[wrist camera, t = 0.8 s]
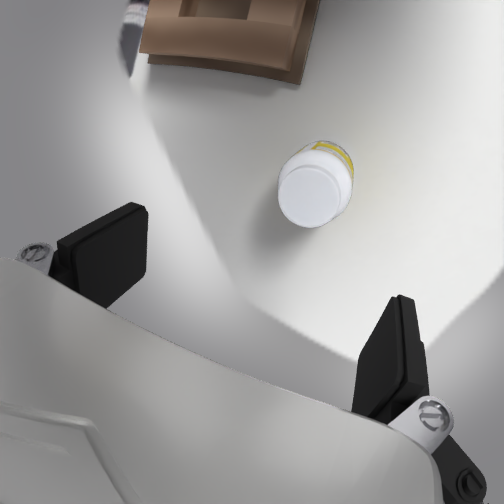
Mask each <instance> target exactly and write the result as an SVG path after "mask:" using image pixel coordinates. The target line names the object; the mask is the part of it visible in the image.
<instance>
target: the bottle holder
mask: <svg viewBox="0 0 504 504" xmlns="http://www.w3.org/2000/svg"><path fill="white" fill-rule="evenodd" d="M319 2H320V0H150V2H149V7H148V11H147V15H146V20H145V24H144V29H143V34H142V39H141V44H140V49H139V53H147V54H149V58H148V63H149V64H164V65H178V66H189V67H198V68H207V69H215V70H223V71H230V72H236V73H242V74H248V75H254V76H260V77H265V78H270V79H275V80H280V81H284V82H289V83H293V84H298V85H300V84H301V80H302V76H303V72H304V67H305V63H306V59H307V54H308V50H309V46H310V41H311V37H312V33H313V28H314V24H315V20H316V15H317V11H318V6H319Z"/></svg>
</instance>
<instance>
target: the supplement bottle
mask: <svg viewBox="0 0 504 504" xmlns="http://www.w3.org/2000/svg"><path fill="white" fill-rule="evenodd" d="M353 174H354V173H353V164H352V161H351V159H350V157H349V155H348V154H347V152H346V151H345V150H344V149H343V148H342V147H340V146H339V145H337V144H335V143H332V142H329V141H317V142H313V143H311V144H309V145H307V146H305V147H304V148H303V149H301V150H300V151H299V152H297V153H296V154H295V155H293V156H292V157H291V158H290V159H289V160H288V161H287V162H286V163H285V164H284V166H283V168H282V169H281V172H280V174H279V178H278V202H279V206H280V208H281V210H282V212H283V214H284V215H285V216H286V217H287V218H288V219H289V220H290V221H291V222H293V223H294V224H296V225H298V226H301V227H306V228H315V227H320V226H322V225H325V224H326V223H328V222H329V221H330V220H332V219H334V218H336V217H337V216H339V215H340V214H341V213H342V212H343V211H344V210H345V208H346V207H347V205H348V203H349V201H350V198H351V194H352V186H353Z"/></svg>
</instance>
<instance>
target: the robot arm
mask: <svg viewBox="0 0 504 504" xmlns="http://www.w3.org/2000/svg"><path fill="white" fill-rule="evenodd" d="M147 231H148V212H147V211H146V209H145V207H144V206H142V205H139V204H136V203H133V202H130V203H128V204H126V205H124V206H122V207H120V208H118V209H116V210H114V211H112V212H110V213H108V214H106V215H105V216H102V217H100V218H98V219H97V220H95V221H93V222H91V223H89V224H87V225H85V226H83V227H82V228H80V229H78V230H76V231H74V232H73V233H71V234H69V235H67V236H65V237H64V238H62V239H60V240H58V241H57V248H58V250H57V251H55V252H54V249H53V247H52V246H51V245H49V244H47V243H32V244H29V245H27V246H25V247H23V248H22V249H21V250H20V251H19V253H18V254H17V257H16V259H15V260H13V259H7V258H0V504H484V502H483V499H484V497H485V495H486V489H487V487H486V481H485V478H484V476H483V474H482V473H481V471H480V470H479V469H478V468H477V467H476V465H475V464H474V463H473V462H472V461H471V459H470V458H469V457H468V456H467V455H466V454H465V453H464V451H463V450H462V449H461V448H460V447H459V445H458V444H457V443H456V442H455V441H454V439H453V438H452V437H451V436H450V435H449V434H450V432H451V431H452V429H453V427H454V417H453V414H452V412H451V410H450V408H449V407H448V406H447V404H446V403H444V402H443V401H442V400H440V399H439V398H436V397H433V396H430V395H429V384H428V374H427V365H426V357H425V349H424V344H423V342H422V341H421V340H420V333H419V326H418V320H417V314H416V308H415V302H414V300H413V299H411V298H408V297H405V296H402V295H400V294H399V295H398V296H397V297H391V299H390V300H389V302H388V304H387V306H386V308H385V310H384V312H383V314H382V316H381V317H380V319H379V321H378V323H377V325H376V327H375V328H374V330H373V332H372V334H371V335H370V337H369V339H368V341H367V342H366V344H365V346H364V347H363V349H362V351H361V353H360V355H359V359H358V366H357V374H356V382H355V390H354V397H353V404H352V411H351V412H350V411H347V410H344V409H341V408H338V407H335V406H333V405H330V404H327V403H323V402H320V401H317V400H314V399H311V398H308V397H305V396H303V395H300V394H297V393H294V392H291V391H288V390H286V389H283V388H280V387H277V386H275V385H272V384H269V383H267V382H264V381H261V380H259V379H256V378H254V377H251V376H248V375H246V374H243V373H241V372H239V371H236V370H234V369H231V368H229V367H227V366H224V365H222V364H219V363H217V362H215V361H212V360H210V359H208V358H205V357H203V356H201V355H199V354H196V353H194V352H192V351H190V350H187V349H185V348H183V347H181V346H179V345H177V344H175V343H172V342H170V341H168V340H166V339H164V338H162V337H160V336H158V335H156V334H154V333H152V332H150V331H148V330H146V329H144V328H142V327H140V326H138V325H135V324H134V323H132V322H130V321H128V320H126V319H124V318H122V317H120V316H118V315H116V314H114V313H113V312H111V311H109V310H107V307H109V306H110V305H111V304H112V303H113V302H115V301H116V300H117V299H118V298H119V297H120V296H122V295H123V294H124V293H125V292H126V291H127V290H129V289H130V288H131V287H132V286H133V285H134V284H136V283H137V282H138V281H139V280H140V279H141V278H143V276H144V275H145V272H146V257H147ZM488 504H489V503H488Z"/></svg>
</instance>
